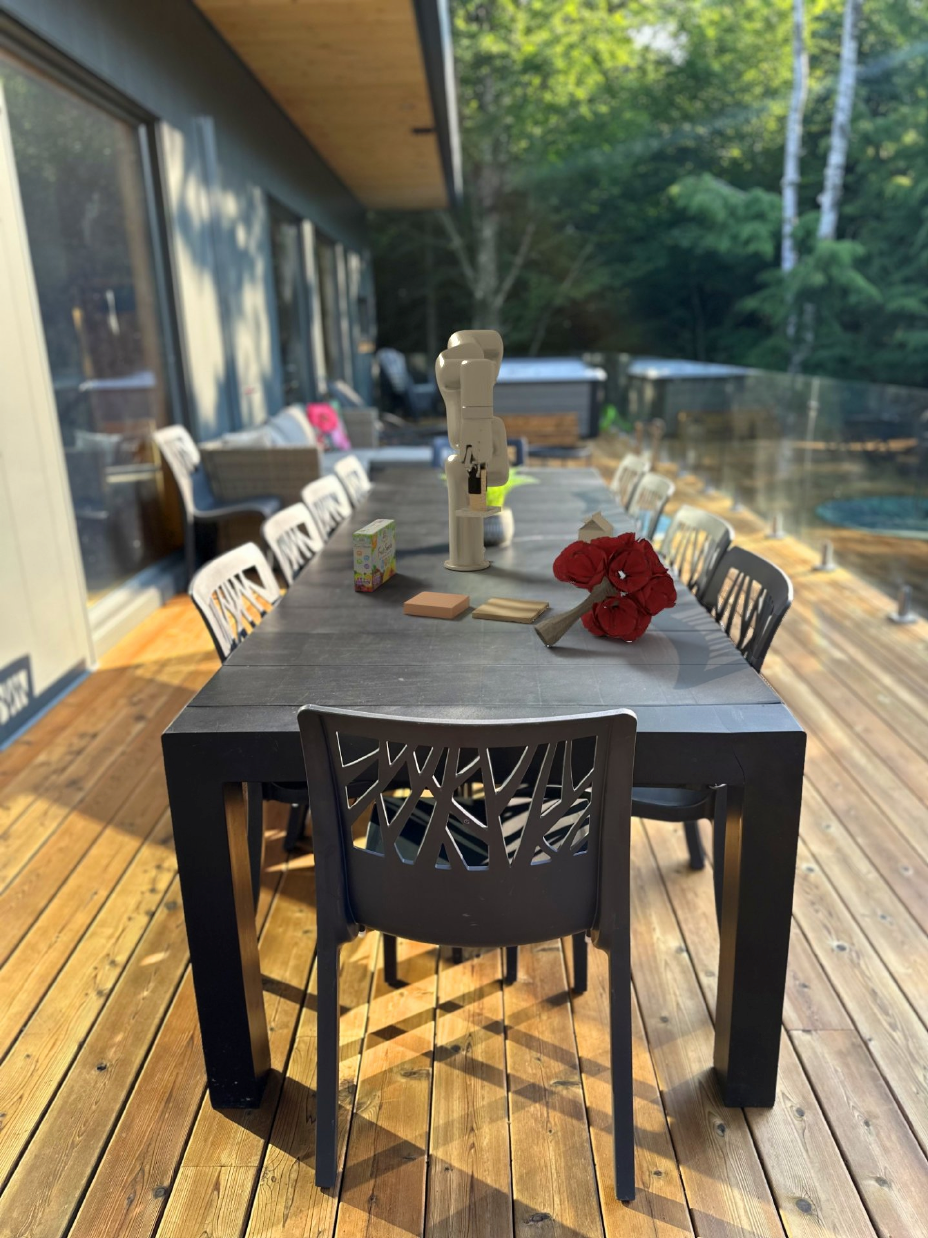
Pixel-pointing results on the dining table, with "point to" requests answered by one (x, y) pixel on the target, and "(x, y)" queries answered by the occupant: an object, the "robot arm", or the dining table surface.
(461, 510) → the wooden post on base
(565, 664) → the dining table surface
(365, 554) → the snack box
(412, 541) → the dining table surface
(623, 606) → the bouquet
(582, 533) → the milk carton
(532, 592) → the dining table surface
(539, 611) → the wooden base plate
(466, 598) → the tile
